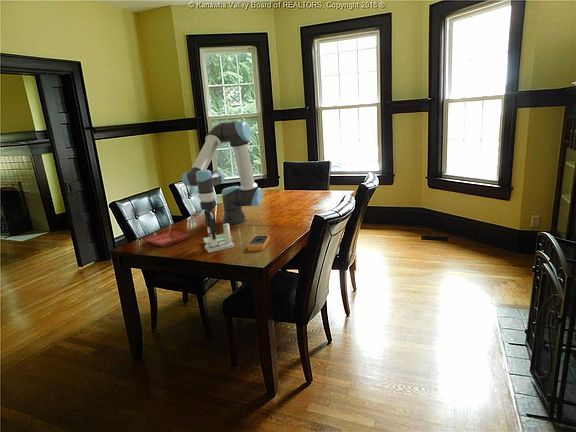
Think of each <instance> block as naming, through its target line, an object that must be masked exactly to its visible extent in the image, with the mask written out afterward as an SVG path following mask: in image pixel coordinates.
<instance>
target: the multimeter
mask: <svg viewBox="0 0 576 432" xmlns="http://www.w3.org/2000/svg"><path fill="white" fill-rule="evenodd" d="M269 241H270V235H269V234H256V235H254V236H253V238H252V239H251V240H250V242H249V243H248V244H247V251H249V252H261V251H262V252H263V251H264V250H265V247H266V246H267V244H268V243H269Z"/></svg>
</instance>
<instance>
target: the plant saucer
mask: <svg viewBox="0 0 576 432" xmlns="http://www.w3.org/2000/svg"><path fill="white" fill-rule="evenodd" d="M170 235H173V236H177V237H178V238H177V239H176V238H175V239H174V240H172V239H170V238H169V237H168V236H170ZM188 236H189V233H183V232H178V231H173V230H170V231H166V232H164V233H160V234H157V235H154V236H151V237H147V238H145V241H146V242H147V243H149V244H150V243H151V245H154V244H155V246H158V245H159V246H158V247H161V246H162V248H165V247H164V246H166V247H168V246H171V245H174V244H176V243H175V242H177V243H180V242H182V241H181V240H183V241H185V240H186V239H187V238H188ZM165 237H166V238H165ZM167 237H168V238H167ZM162 238H164V239H162ZM158 239H159V240H158ZM184 239H185V240H184ZM179 241H180V242H179ZM173 243H174V244H173ZM170 244H171V245H170ZM167 245H168V246H167Z"/></svg>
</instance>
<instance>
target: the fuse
mask: <svg viewBox="0 0 576 432" xmlns="http://www.w3.org/2000/svg"><path fill="white" fill-rule="evenodd" d="M222 227H223V234H224V236H225V243H226V244H230V243H231V237H232V236H231V231H230V230H231V229H230V225H229V224H228V223H226V224H222Z"/></svg>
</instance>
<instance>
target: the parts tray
mask: <svg viewBox="0 0 576 432" xmlns="http://www.w3.org/2000/svg"><path fill="white" fill-rule="evenodd" d="M216 237H217V243H218V242H224V241H225V236H224V233H221V234H216ZM202 240H203V243H204V244H205V246H206V245H210V243H209V237H203V239H202ZM231 242H233V243H234V239H233V236H231Z"/></svg>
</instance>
